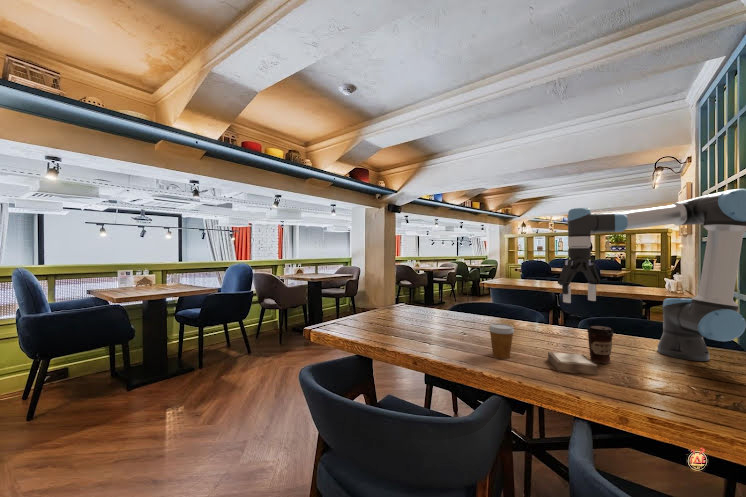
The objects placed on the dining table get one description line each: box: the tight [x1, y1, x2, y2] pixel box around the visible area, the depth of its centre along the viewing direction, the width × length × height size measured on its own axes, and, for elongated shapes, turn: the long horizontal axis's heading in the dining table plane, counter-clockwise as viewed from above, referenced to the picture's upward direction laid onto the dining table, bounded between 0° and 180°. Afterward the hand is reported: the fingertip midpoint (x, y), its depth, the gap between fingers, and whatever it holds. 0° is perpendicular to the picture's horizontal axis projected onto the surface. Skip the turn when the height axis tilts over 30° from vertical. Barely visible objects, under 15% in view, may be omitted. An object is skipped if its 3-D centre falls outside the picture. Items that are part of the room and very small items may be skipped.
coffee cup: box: [586, 325, 614, 364], centre depth 121 cm, size 9×8×13 cm
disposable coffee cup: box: [488, 323, 515, 360], centre depth 126 cm, size 10×10×12 cm
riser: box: [547, 351, 598, 376], centre depth 115 cm, size 12×12×3 cm
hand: (579, 301), depth 124 cm, fingers open, 13 cm apart
